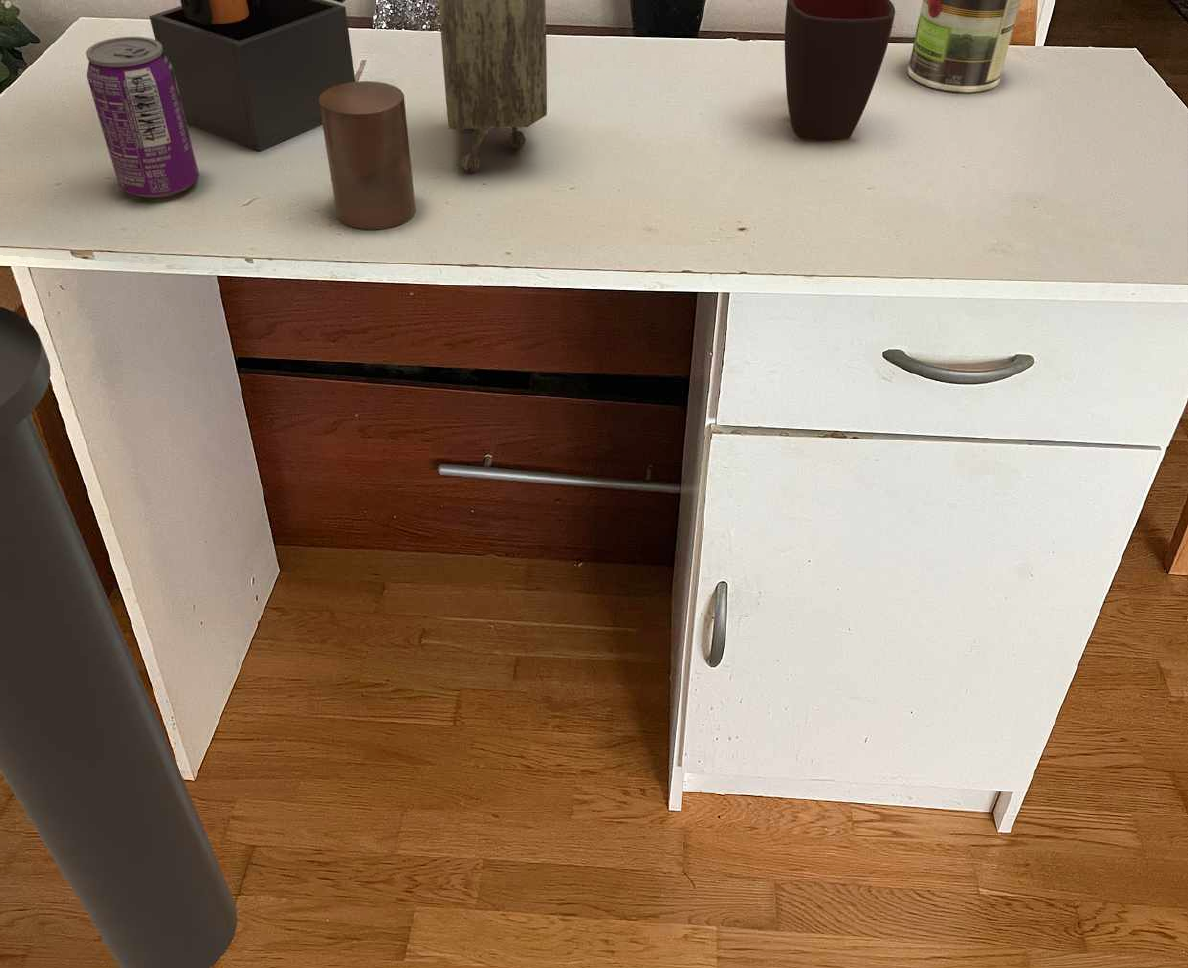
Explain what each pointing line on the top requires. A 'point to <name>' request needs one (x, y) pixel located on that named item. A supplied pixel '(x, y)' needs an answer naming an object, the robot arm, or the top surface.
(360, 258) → the top surface
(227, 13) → the cylinder
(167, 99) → the beverage can
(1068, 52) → the top surface
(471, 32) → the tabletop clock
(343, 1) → the lid
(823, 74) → the cup
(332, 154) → the stand
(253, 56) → the open storage bin
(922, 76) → the coffee can
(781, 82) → the top surface
